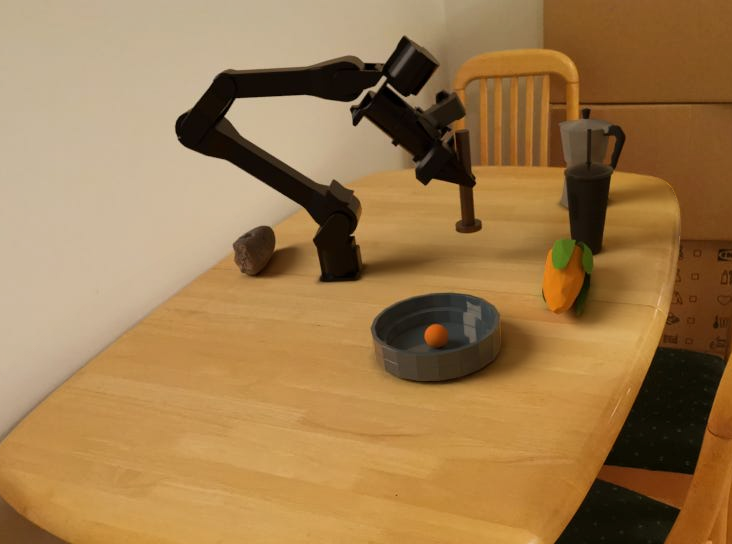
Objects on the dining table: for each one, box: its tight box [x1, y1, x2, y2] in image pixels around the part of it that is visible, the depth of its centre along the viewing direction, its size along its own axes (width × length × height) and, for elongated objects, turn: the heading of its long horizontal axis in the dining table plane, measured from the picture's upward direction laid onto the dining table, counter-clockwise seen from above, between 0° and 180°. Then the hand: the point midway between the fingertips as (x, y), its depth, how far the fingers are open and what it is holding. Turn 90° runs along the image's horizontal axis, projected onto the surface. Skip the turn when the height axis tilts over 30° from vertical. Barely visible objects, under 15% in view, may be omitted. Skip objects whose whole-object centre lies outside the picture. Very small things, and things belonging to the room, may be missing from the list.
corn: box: [541, 238, 595, 316], centre depth 101 cm, size 7×8×20 cm
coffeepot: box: [557, 107, 627, 209], centre depth 131 cm, size 15×9×18 cm, turn 37°
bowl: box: [369, 291, 502, 382], centre depth 93 cm, size 17×17×4 cm
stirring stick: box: [454, 128, 483, 235], centre depth 111 cm, size 4×4×16 cm
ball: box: [425, 324, 448, 348], centre depth 93 cm, size 3×3×3 cm
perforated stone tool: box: [232, 225, 277, 276], centre depth 127 cm, size 15×5×7 cm, turn 167°
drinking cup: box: [563, 129, 615, 256], centre depth 112 cm, size 8×8×20 cm
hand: (474, 183), depth 111 cm, fingers closed on stirring stick, 2 cm apart
